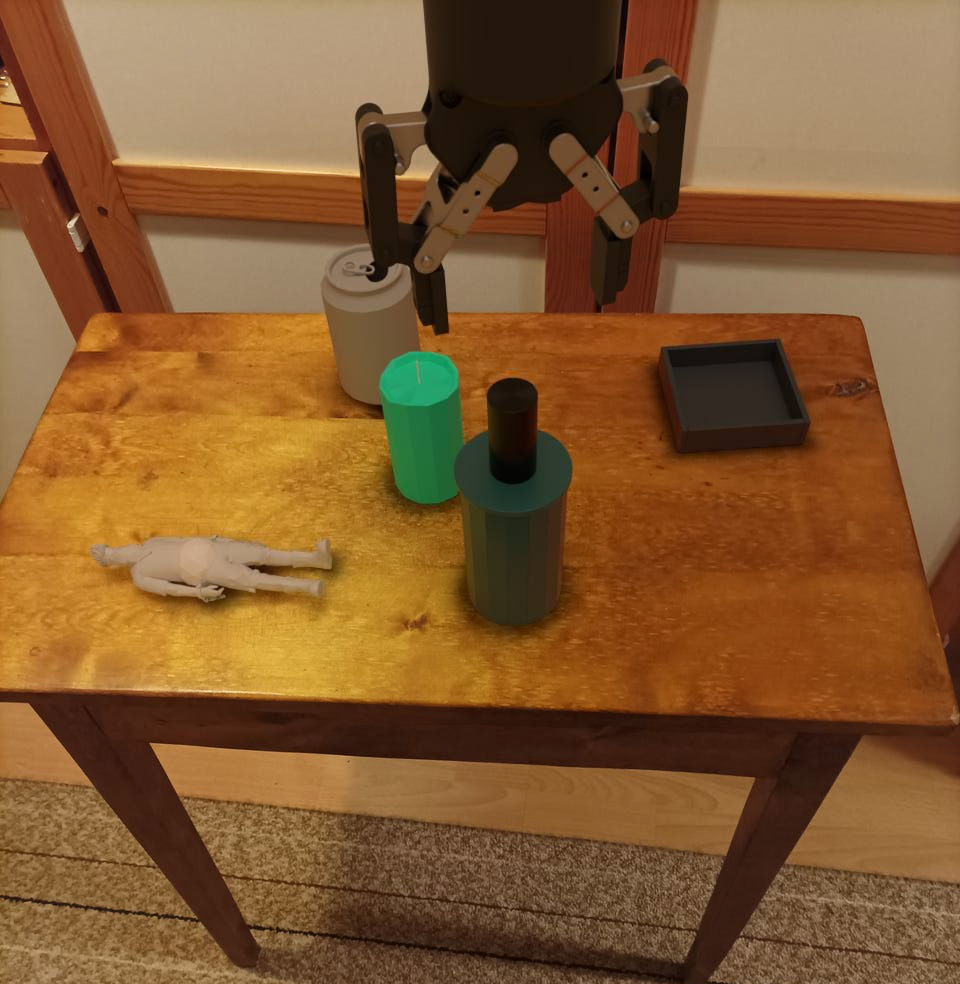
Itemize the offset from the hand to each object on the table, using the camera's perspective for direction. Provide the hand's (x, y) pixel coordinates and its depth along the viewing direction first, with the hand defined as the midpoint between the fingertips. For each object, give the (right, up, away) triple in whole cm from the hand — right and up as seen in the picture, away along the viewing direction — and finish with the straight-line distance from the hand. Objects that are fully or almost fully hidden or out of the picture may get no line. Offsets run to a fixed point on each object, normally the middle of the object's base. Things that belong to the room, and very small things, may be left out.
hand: (521, 310), depth 46 cm
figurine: (-22, -12, +25) cm, 35 cm away
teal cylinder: (+1, -13, +23) cm, 26 cm away
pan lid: (0, -6, +13) cm, 14 cm away
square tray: (+19, +4, +33) cm, 38 cm away
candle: (-6, -3, +30) cm, 31 cm away
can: (-11, +7, +36) cm, 38 cm away
